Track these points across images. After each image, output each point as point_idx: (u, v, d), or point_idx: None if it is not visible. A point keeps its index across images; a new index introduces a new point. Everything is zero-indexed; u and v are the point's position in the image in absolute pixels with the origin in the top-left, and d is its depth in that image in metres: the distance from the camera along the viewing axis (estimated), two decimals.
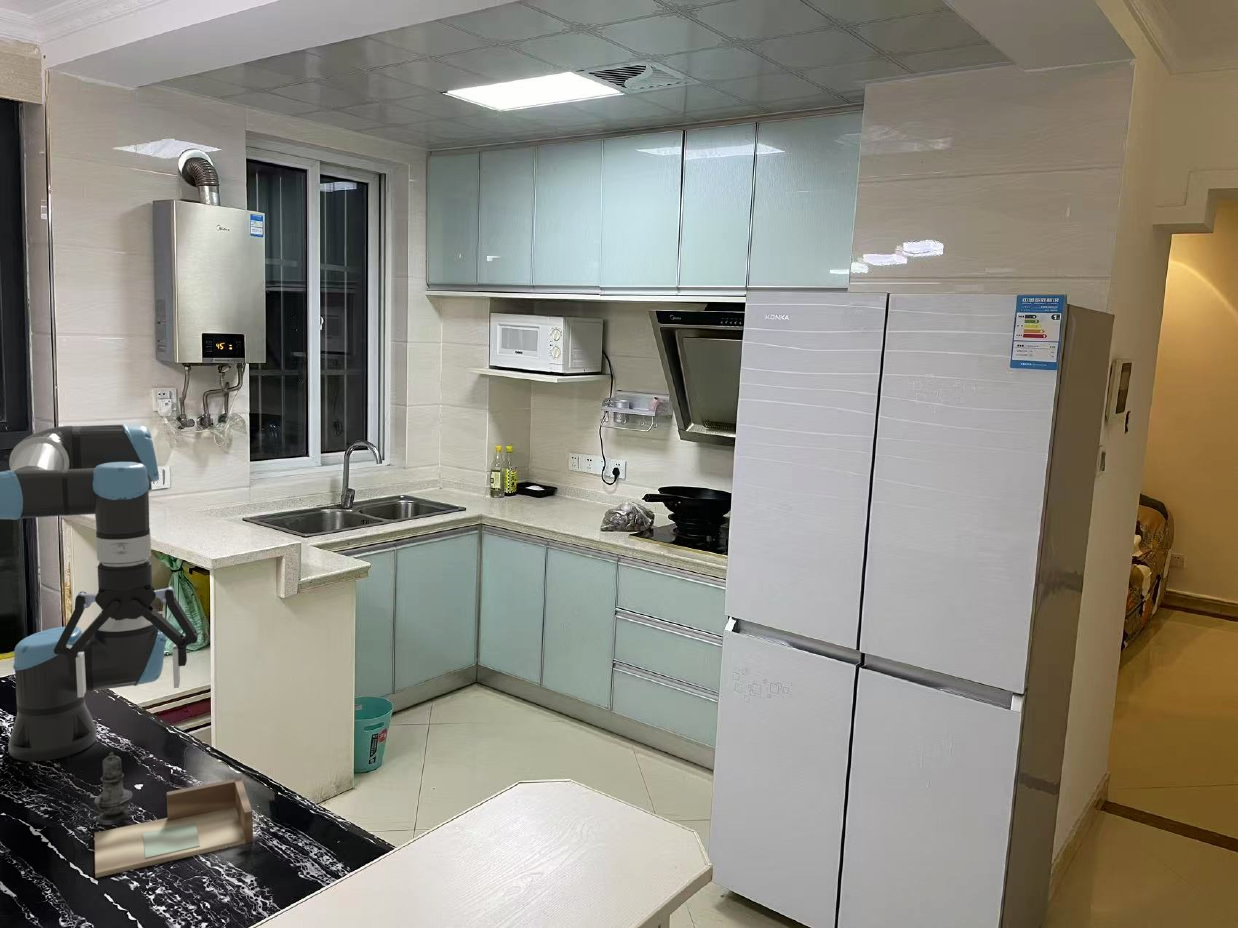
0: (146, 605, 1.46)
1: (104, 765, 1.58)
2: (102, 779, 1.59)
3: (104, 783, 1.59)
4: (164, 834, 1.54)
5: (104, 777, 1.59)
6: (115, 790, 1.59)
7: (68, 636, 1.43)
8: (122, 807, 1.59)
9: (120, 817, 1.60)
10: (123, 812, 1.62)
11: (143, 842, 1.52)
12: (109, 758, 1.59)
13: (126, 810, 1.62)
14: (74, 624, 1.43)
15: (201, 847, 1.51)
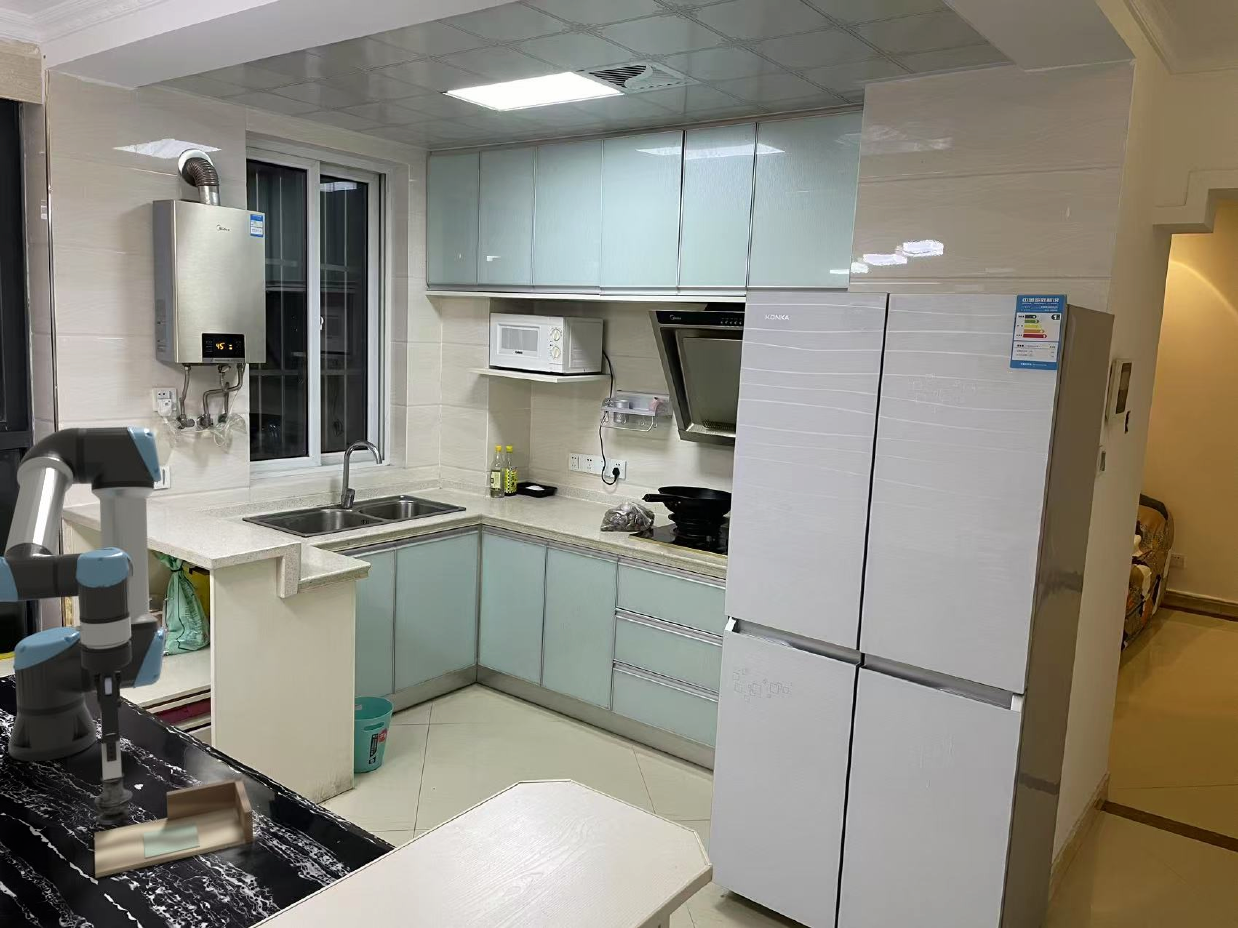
0: None
1: None
2: (102, 779, 1.59)
3: (104, 783, 1.59)
4: (164, 834, 1.54)
5: None
6: (115, 790, 1.59)
7: None
8: (122, 807, 1.59)
9: (120, 817, 1.60)
10: (123, 812, 1.62)
11: (143, 842, 1.52)
12: None
13: (126, 810, 1.62)
14: None
15: (201, 847, 1.51)
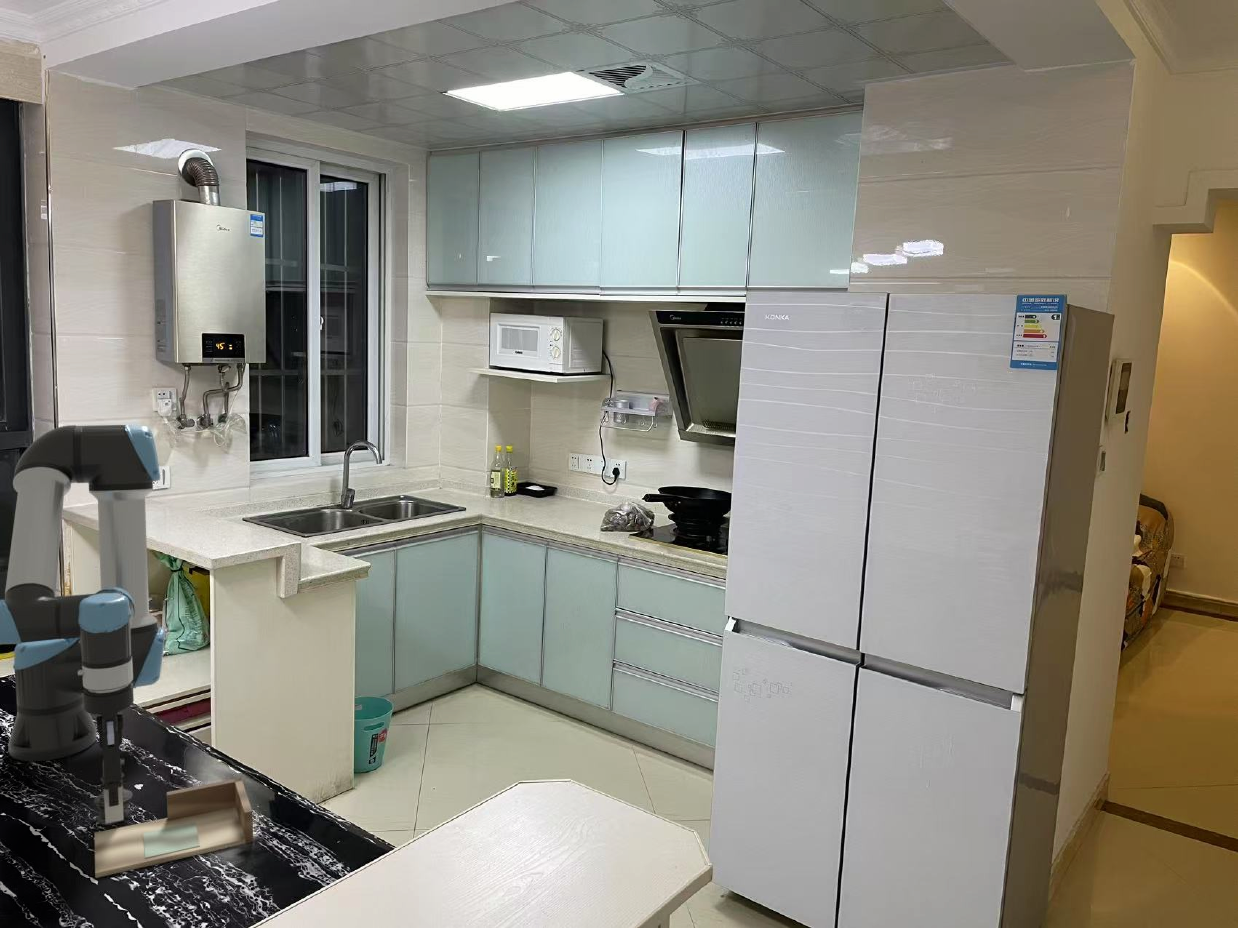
0: None
1: None
2: (102, 779, 1.59)
3: None
4: (164, 834, 1.54)
5: None
6: None
7: None
8: None
9: None
10: (123, 812, 1.62)
11: (143, 842, 1.52)
12: None
13: (126, 810, 1.62)
14: None
15: (201, 847, 1.51)
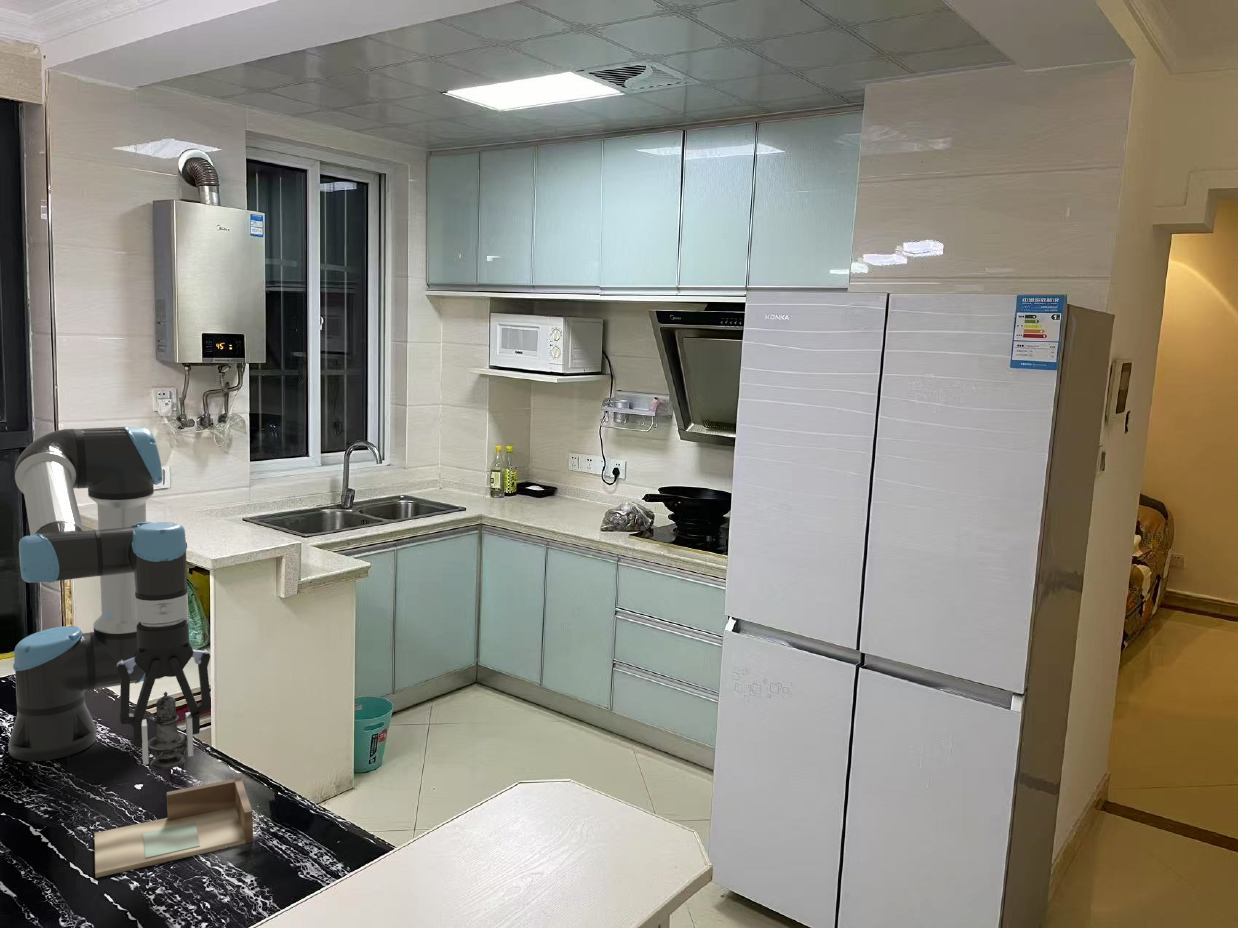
0: (182, 666, 1.49)
1: (171, 704, 1.49)
2: (170, 721, 1.49)
3: (172, 724, 1.49)
4: (164, 834, 1.54)
5: (171, 718, 1.49)
6: None
7: (127, 704, 1.46)
8: None
9: (178, 754, 1.52)
10: None
11: (143, 842, 1.52)
12: (169, 697, 1.49)
13: None
14: (127, 691, 1.45)
15: (201, 847, 1.51)
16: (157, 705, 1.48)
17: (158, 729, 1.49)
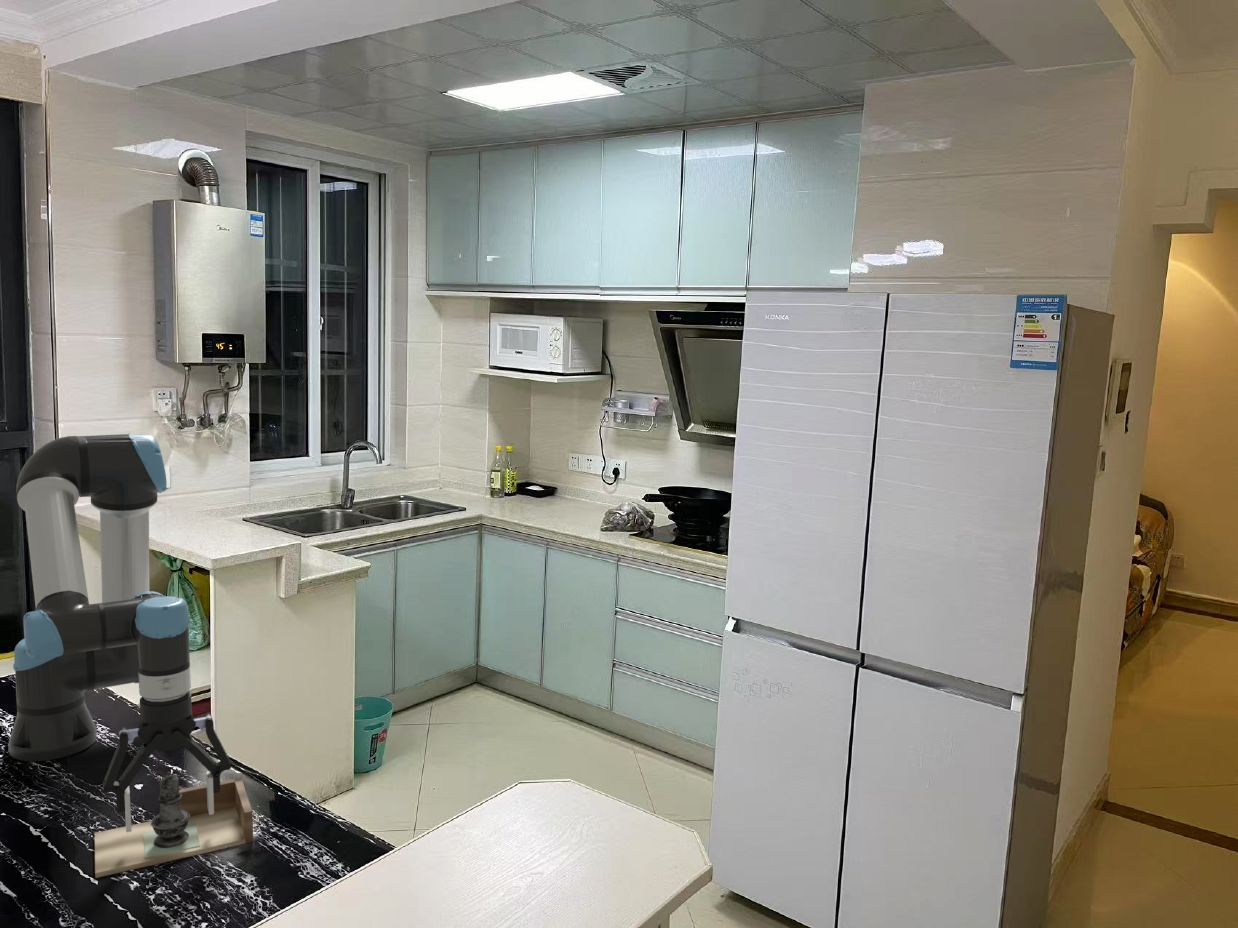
0: (187, 735, 1.51)
1: (175, 784, 1.51)
2: (174, 800, 1.51)
3: (175, 803, 1.51)
4: None
5: (174, 797, 1.51)
6: None
7: (116, 774, 1.46)
8: None
9: (181, 831, 1.54)
10: None
11: (143, 842, 1.52)
12: (172, 776, 1.51)
13: None
14: (120, 761, 1.46)
15: (201, 847, 1.51)
16: (161, 785, 1.50)
17: (161, 808, 1.51)
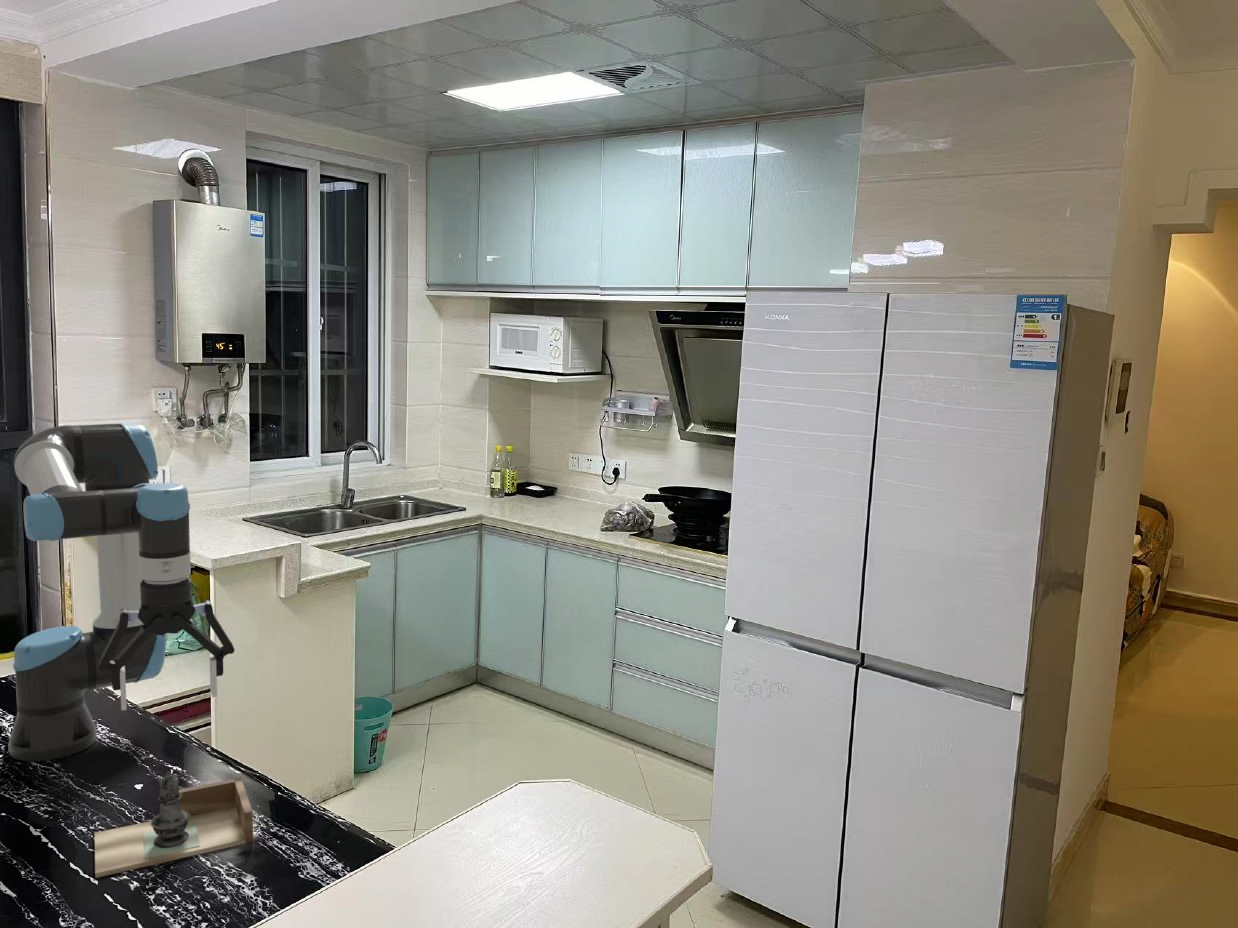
0: (187, 619, 1.53)
1: (174, 784, 1.51)
2: (174, 800, 1.51)
3: (175, 803, 1.51)
4: None
5: (174, 797, 1.51)
6: None
7: (113, 652, 1.49)
8: None
9: (181, 831, 1.54)
10: None
11: (143, 842, 1.52)
12: (172, 776, 1.51)
13: None
14: (118, 640, 1.49)
15: (201, 847, 1.51)
16: (160, 785, 1.50)
17: (161, 808, 1.51)
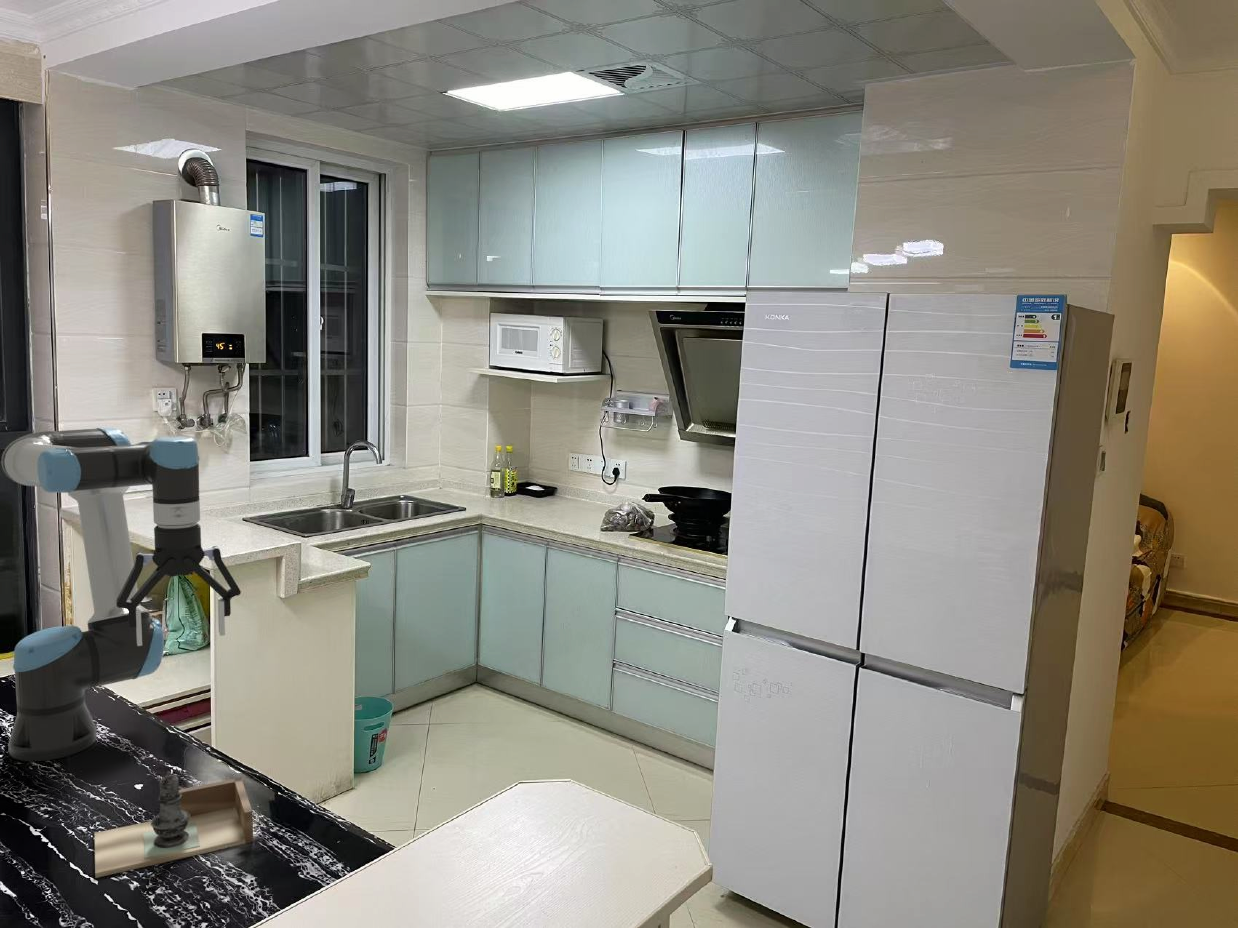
0: (197, 562, 1.67)
1: (174, 784, 1.51)
2: (174, 800, 1.51)
3: (175, 803, 1.51)
4: None
5: (174, 797, 1.51)
6: None
7: (129, 591, 1.62)
8: None
9: (181, 831, 1.54)
10: None
11: (143, 842, 1.52)
12: (172, 776, 1.51)
13: None
14: (135, 580, 1.62)
15: (201, 847, 1.51)
16: (160, 785, 1.50)
17: (161, 808, 1.51)
